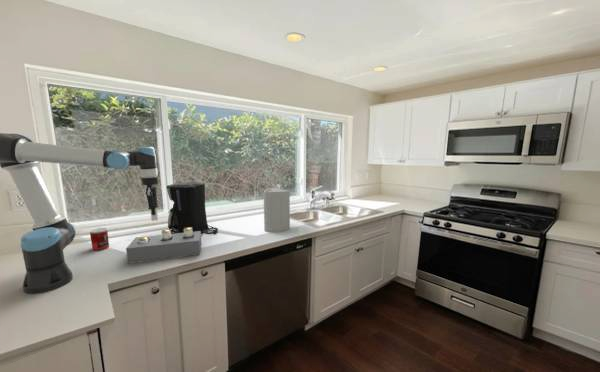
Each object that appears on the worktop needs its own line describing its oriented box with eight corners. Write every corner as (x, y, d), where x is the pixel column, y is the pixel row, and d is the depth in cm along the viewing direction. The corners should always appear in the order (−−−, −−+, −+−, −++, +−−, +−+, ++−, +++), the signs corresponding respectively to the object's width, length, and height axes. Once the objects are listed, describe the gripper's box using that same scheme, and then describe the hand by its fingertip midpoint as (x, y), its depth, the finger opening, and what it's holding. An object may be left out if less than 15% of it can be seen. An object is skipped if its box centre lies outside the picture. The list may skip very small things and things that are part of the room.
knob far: (192, 241, 140) (191, 228, 139) (184, 242, 139) (183, 229, 137) (193, 239, 144) (192, 226, 143) (185, 240, 143) (184, 227, 142)
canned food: (100, 251, 140) (97, 232, 138) (88, 250, 142) (86, 231, 140) (112, 246, 148) (110, 228, 146) (101, 245, 149) (99, 227, 147)
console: (200, 254, 137) (199, 240, 135) (127, 263, 126) (126, 248, 125) (201, 243, 152) (200, 230, 150) (137, 250, 141) (135, 237, 140)
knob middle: (171, 244, 137) (169, 231, 135) (162, 245, 135) (160, 231, 134) (172, 241, 141) (171, 228, 140) (163, 242, 139) (162, 229, 138)
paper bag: (256, 228, 179) (255, 190, 174) (271, 223, 190) (271, 187, 185) (275, 234, 167) (274, 193, 162) (290, 229, 178) (290, 190, 173)
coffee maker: (175, 226, 183) (171, 181, 178) (221, 224, 188) (218, 180, 183) (164, 237, 161) (159, 186, 155) (216, 235, 166) (213, 185, 161)
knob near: (148, 252, 134) (147, 238, 132) (139, 253, 132) (137, 239, 131) (150, 249, 138) (149, 236, 137) (141, 250, 136) (140, 236, 135)
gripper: (155, 177, 125) (160, 222, 129) (160, 174, 138) (164, 216, 142) (137, 178, 123) (143, 224, 127) (144, 175, 135) (149, 217, 139)
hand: (154, 220), depth 134 cm, fingers closed
